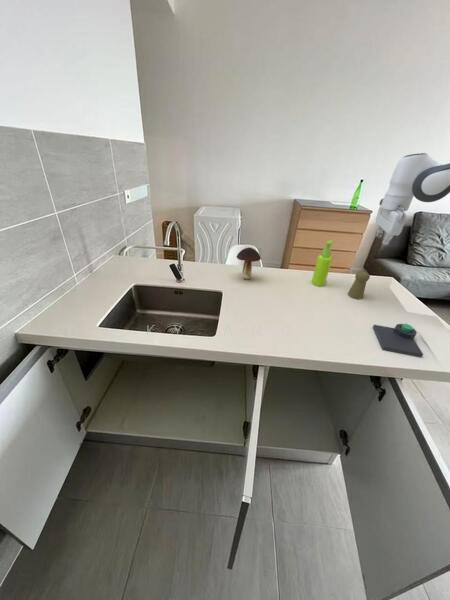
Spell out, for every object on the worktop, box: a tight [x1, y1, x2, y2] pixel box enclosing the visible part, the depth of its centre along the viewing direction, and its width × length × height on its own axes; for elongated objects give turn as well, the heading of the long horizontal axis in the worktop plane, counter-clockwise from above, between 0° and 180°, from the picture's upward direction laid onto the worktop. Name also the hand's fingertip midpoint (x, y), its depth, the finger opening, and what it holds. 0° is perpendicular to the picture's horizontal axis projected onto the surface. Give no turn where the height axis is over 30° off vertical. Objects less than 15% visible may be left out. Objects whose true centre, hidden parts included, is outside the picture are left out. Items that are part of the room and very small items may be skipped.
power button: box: [401, 323, 414, 333], centre depth 81 cm, size 3×3×2 cm
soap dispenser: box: [311, 239, 334, 287], centre depth 109 cm, size 6×7×20 cm
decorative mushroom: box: [236, 247, 262, 280], centre depth 110 cm, size 11×11×15 cm
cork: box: [347, 270, 371, 300], centre depth 102 cm, size 6×6×11 cm
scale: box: [372, 323, 424, 358], centre depth 79 cm, size 12×13×3 cm
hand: (381, 240), depth 97 cm, fingers open, 8 cm apart
